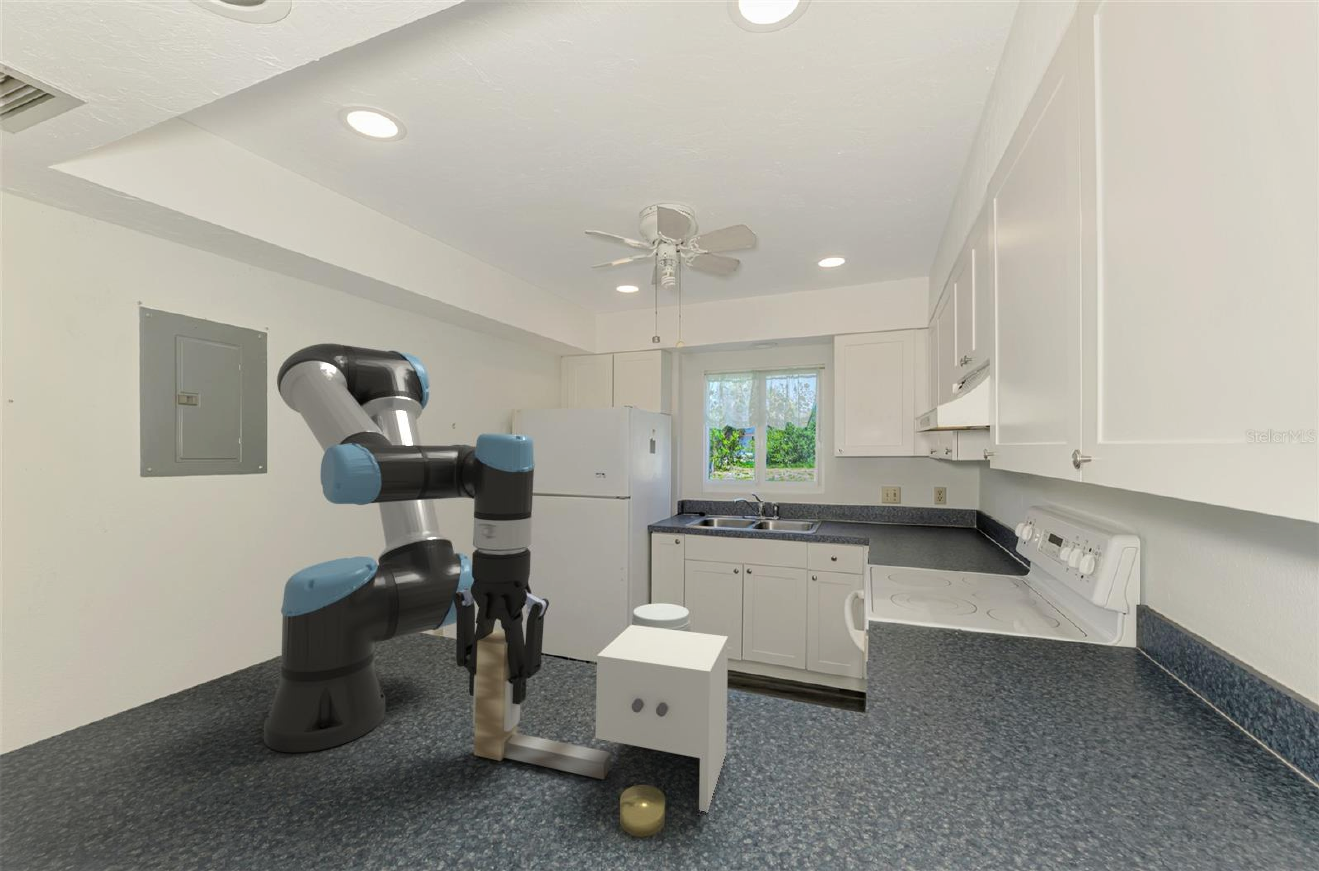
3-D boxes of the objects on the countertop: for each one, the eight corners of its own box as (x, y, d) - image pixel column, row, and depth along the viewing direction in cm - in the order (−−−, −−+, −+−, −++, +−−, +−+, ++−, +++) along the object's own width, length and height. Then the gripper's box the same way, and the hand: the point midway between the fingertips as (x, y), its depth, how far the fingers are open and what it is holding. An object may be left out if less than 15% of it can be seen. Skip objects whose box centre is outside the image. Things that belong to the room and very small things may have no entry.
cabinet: (591, 792, 65) (594, 658, 65) (628, 737, 77) (630, 624, 77) (705, 817, 61) (708, 674, 61) (726, 755, 73) (727, 636, 73)
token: (613, 832, 58) (613, 808, 59) (628, 803, 63) (628, 781, 63) (658, 841, 57) (658, 817, 57) (669, 811, 62) (669, 789, 62)
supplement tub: (701, 706, 87) (702, 614, 87) (651, 721, 82) (653, 624, 82) (667, 683, 95) (668, 599, 95) (620, 696, 90) (621, 607, 90)
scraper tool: (473, 754, 71) (477, 640, 71) (491, 738, 75) (494, 630, 75) (600, 783, 66) (604, 660, 66) (612, 764, 70) (616, 648, 70)
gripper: (429, 547, 71) (423, 725, 71) (545, 560, 67) (539, 750, 67) (465, 538, 79) (459, 699, 79) (572, 548, 74) (566, 720, 74)
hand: (496, 722), depth 73 cm, fingers closed on scraper tool, 4 cm apart
